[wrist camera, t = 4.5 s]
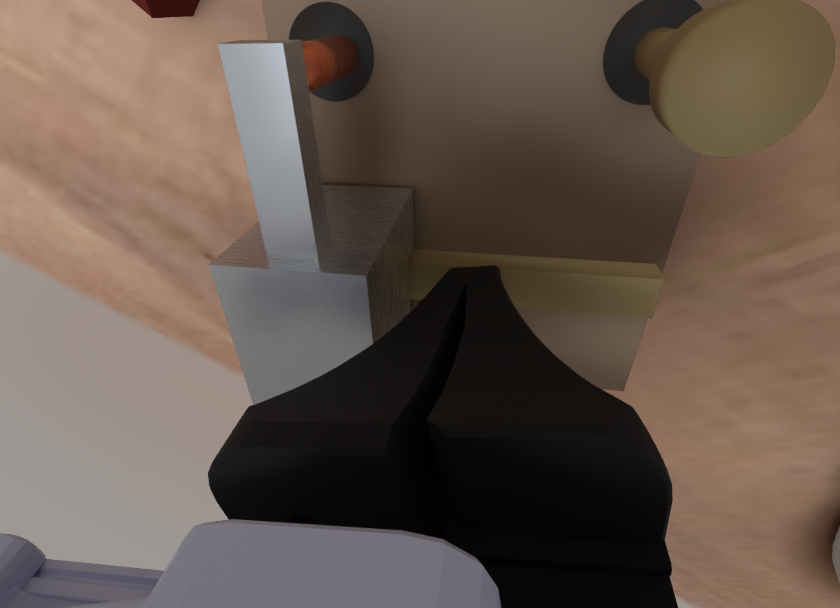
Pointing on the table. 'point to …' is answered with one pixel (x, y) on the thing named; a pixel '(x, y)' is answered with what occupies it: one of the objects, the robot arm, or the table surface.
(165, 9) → the bracket
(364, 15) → the board
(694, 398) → the table surface
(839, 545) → the ramekin
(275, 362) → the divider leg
